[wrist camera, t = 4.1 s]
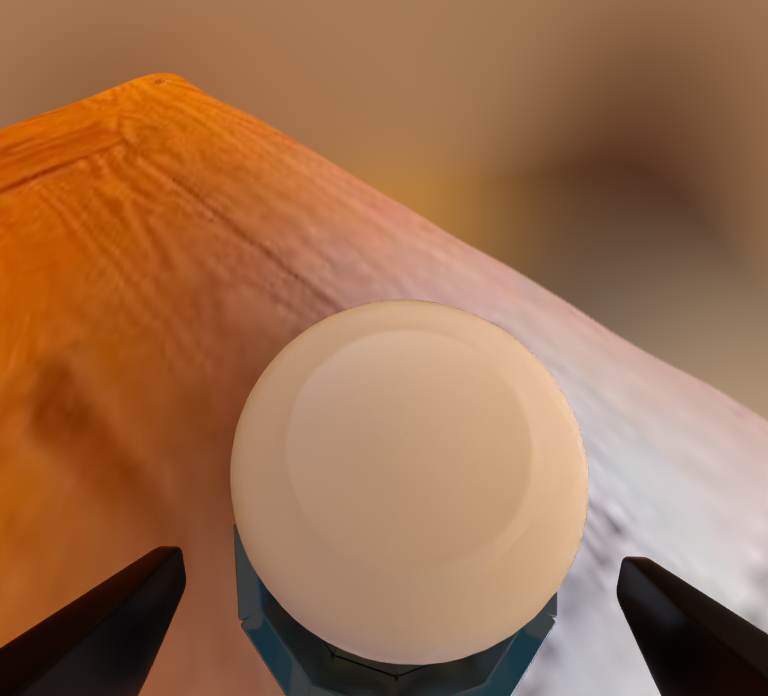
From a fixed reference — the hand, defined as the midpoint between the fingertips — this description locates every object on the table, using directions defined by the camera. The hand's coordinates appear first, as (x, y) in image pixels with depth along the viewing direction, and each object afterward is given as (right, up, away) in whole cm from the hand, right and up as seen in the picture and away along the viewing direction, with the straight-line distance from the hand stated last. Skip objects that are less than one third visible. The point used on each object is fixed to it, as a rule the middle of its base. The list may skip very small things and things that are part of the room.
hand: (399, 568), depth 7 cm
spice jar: (0, -4, +9) cm, 9 cm away
